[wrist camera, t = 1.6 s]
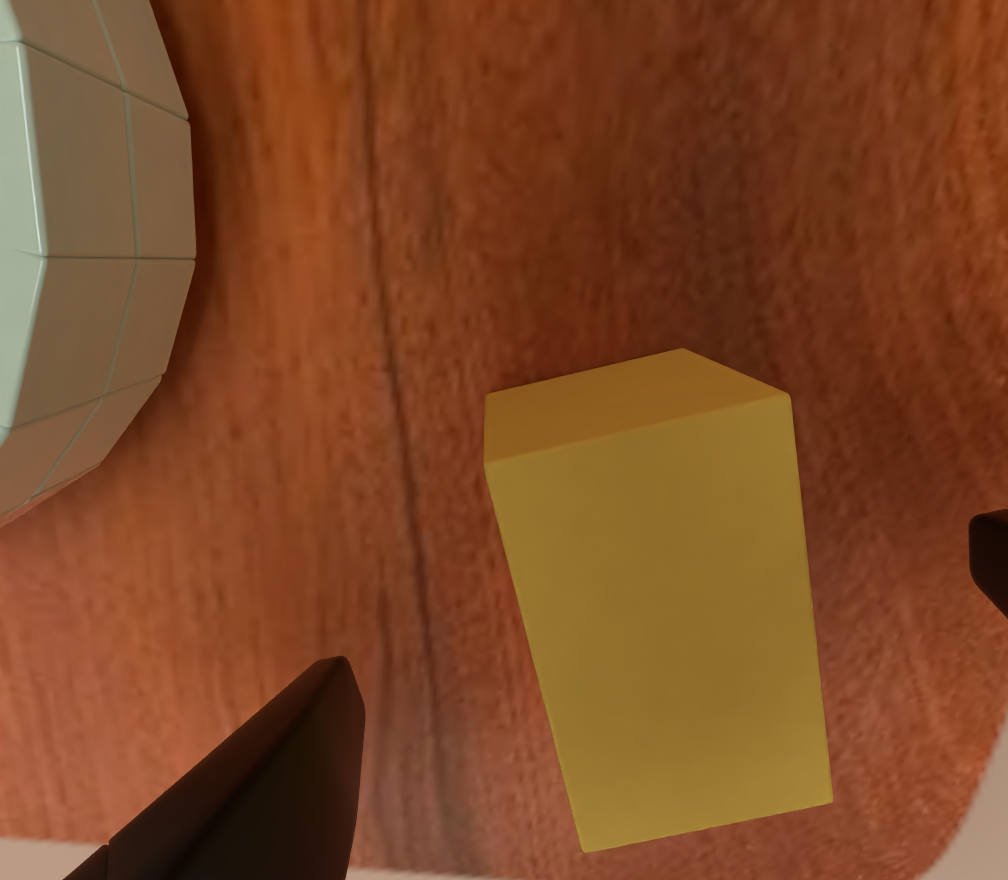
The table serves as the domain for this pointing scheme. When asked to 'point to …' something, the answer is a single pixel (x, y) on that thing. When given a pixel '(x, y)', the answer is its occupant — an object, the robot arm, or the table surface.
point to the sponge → (663, 592)
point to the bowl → (85, 234)
